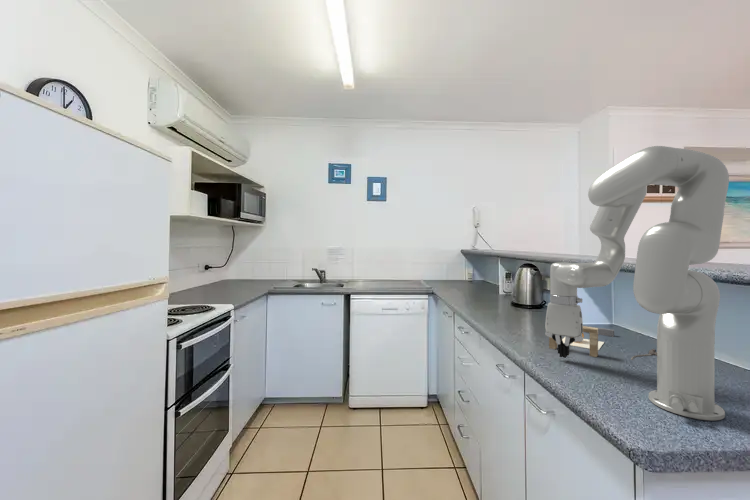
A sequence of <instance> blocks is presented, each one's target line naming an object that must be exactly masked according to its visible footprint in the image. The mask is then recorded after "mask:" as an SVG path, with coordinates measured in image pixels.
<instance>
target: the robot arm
mask: <svg viewBox="0 0 750 500" xmlns="http://www.w3.org/2000/svg"><path fill="white" fill-rule="evenodd" d="M729 174H730V173H729V171H728V168H727V167H726V164H725V163H724V162H723V161H721V159H719V158H718V157H716V156H714V155H711V154H709V153H706V152H702V151H697V150H694V149H693V150H692V149H686V148H680V147H679V148H678V147H672V146H665V145H664V146H663V145H655V146H652V145H651V146H648V147H645V148H642V149H640V150H638V151H637V152H635V153H633V154H631V155H630V156H628V157H627V158H625V159H623V160H622V161H620V162H618V163H617V164H615V165H614V166H612V167H610V168H609V169H607V170H606V171H604V172H603V173H602V174H600V175H599V176H598V177H597V178H596V179H594V180H593V182H591V184H590V187H589V189H588V191H587V192H588V193H587V197H588V200H589V202H590V203H591V204H592V205H593V206H597V207H598V209H597V211H596V213H595V215H594V218H593V220H592V222H591V224H590V226H589V230H590V232H591V233H592V234H593V235H595V236H596V237H598V239H599V240H600V251H599V253H598V254H597V255H598V256H597V258H596V259H595V261H594V262H577V263H576V262H575V263H573V262H564V261H562V262H553V263H551V265H550V269H549V271H550V274H549V275H550V276H549V278H550V281H549V282H550V284H549V286H550V288H549V289H550V297H549V300H550V301H549V302H548V303H547V308H546V314H545V325H544V326H545V327H544V328H545V332H544V335H545V336H546V337H548V338H549V337H551V338H553V339H554V340H555V341H556V343H557V354H559V357H560V358H564V359H566V358H567V357H568V356H569V355H570V346H571V345H570V344H571V343H573V342H580V341H583V339H584V338H583V337H582V334H584V332H583V326H584V324H583V322H584V321H583V314H582V308H581V305H579V304H582V303H583V298H582V297H581V298H580V297H579V296H578V289H588V288H601V287H603V288H604V287H606V286H608V285H610V284H612V282H613V281H614V280H615V279H616V278H617V275H618V274H619V272H620V270H621V268H622V267H623V265H624V263H625V260H626V243H625V237H626V234H627V233H628V231H629V229H630V227H631V225H632V223H633V221H634V219H635V218H636V215H637V213H638V211H639V210H640V208H641V205H642V203H643V202H644V199H645V198H646V196H647V193H648V186H650V185H656V186H657V185H658V186H669V187H671V186H672V187H676V188H677V189H678V191H677V192H676V194H675V196H674V198H673V199H672V203H671V205H670V215H669V221H668V222H667V221H666V222H661V223H658V224H655V225H653V226H651V227H649V228H648V229H647V230H646V231H645V232H644V233H643V235H642V236H641V238H640V240H639V242H638V246H637V251H636V260H635V261H636V262H635V268H634V277H633V285H632V289H633V295H634V299H635V300H636V302H637V304H638V305H639V306H640V307H641V308H643V309H644V310H645V311H648V312H649V313H653V314H657V315H659V316H658V320H657V325H656V326H657V328H656V329H657V332H656V334H657V335H656V352H657V356H656V389H655V390H651V391H650V392H648V399H649V401H650V402H651V403H652V404H653V405H655V406H657V407H659V408H661V409H663V410H665V411H668V412H669V413H670V412H671V413H673V414H676V415H679V416H683V417H686V418H691V419H696V420H702V421H711V422H712V421H713V422H714V421H721V420H723V419H725V417H726V410H724V409H723V407H721V406H720V405H718V404H717V403H715V370H716V369H715V368H716V367H715V360H716V359H715V358H716V357H715V354H716V353H715V352H716V351H715V343H716V321H717V315H718V311H719V306H720V301H721V295H720V294H721V292H720V289H719V287H718V284H717V282H715V281H714V280H713V278H712V277H710V276H709V275H707V274H705V273H703V272H700V271H696V270H691V269H689V267H690V266H692V265H701V264H705V263H708V262H710V261H712V260H713V259H714V258H715V257H716V256H717V255H718V252H719V250H720V249H719V248H720V245H721V236H722V229H723V222H724V215H725V206H726V200H727V195H728V190H729V185H730V184H729V183H730V175H729ZM565 336H566V338H565V343H563V341H562V339H563V337H565Z"/></svg>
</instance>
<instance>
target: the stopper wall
mask: <svg viewBox="0 0 750 500" xmlns="http://www.w3.org/2000/svg"><path fill="white" fill-rule="evenodd" d="M584 326H585V327H592V328H598V336H599V335H600V336H606V337H612V338H613V337H615V329H610V328H603V327H597V326H589V325H584ZM584 333H587V334H590V333H589V332H584Z"/></svg>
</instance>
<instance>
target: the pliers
mask: <svg viewBox="0 0 750 500" xmlns="http://www.w3.org/2000/svg"><path fill="white" fill-rule="evenodd" d="M655 349H656V348H651V349H650V350H649V351H648V352H647V353H646V354H645V353H644V354H636V355H633V356H631V357H630V360H631V361H634V359H635V358H639V357H640V358H641V357H651V356H656V357H657V351H656V350H655Z"/></svg>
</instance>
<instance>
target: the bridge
mask: <svg viewBox="0 0 750 500" xmlns="http://www.w3.org/2000/svg"><path fill="white" fill-rule="evenodd" d="M585 326H586V325H583V333H585V332H589V333H588V334H589V340H590V349H589V357H593V358H598V356H599V350H598V341H599V334H598V328H599V327H598V328H592V327H593V326H590V327H585ZM548 348H549V349H553V350H557V349H558V344H557V343H556V341H555V340H554V339H553V338H551V337H549V336H548Z"/></svg>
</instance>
